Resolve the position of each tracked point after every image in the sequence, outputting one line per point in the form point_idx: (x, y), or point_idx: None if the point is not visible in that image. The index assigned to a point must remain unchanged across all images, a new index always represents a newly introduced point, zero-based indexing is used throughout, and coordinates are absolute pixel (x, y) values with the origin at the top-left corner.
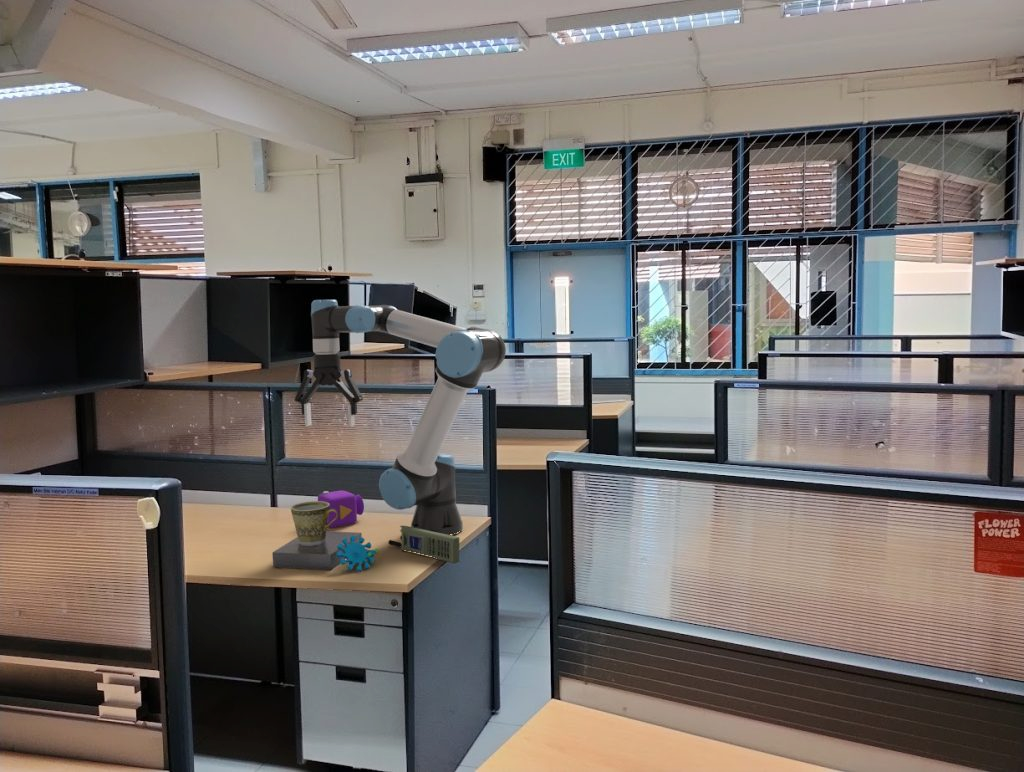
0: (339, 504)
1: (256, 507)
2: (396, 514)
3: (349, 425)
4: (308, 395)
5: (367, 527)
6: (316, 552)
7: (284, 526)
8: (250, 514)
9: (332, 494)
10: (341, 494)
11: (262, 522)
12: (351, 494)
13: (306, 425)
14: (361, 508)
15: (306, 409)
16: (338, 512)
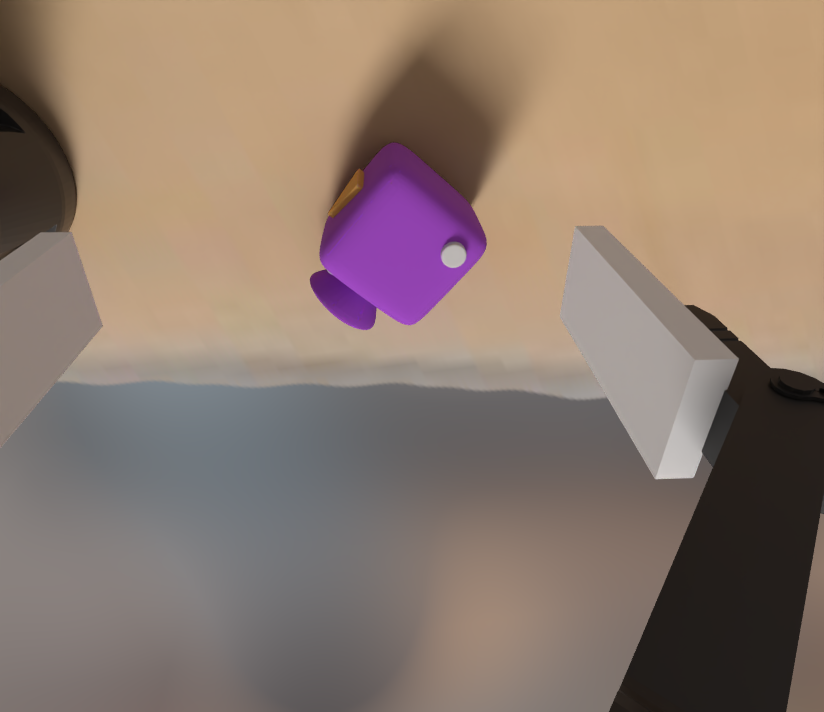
0: (363, 188)
1: None
2: (249, 348)
3: (54, 238)
4: (734, 478)
5: (264, 181)
6: None
7: (588, 151)
8: (758, 284)
9: (415, 240)
10: (374, 244)
11: (689, 193)
12: (334, 259)
13: (589, 229)
14: (319, 271)
15: (658, 317)
16: (367, 174)
